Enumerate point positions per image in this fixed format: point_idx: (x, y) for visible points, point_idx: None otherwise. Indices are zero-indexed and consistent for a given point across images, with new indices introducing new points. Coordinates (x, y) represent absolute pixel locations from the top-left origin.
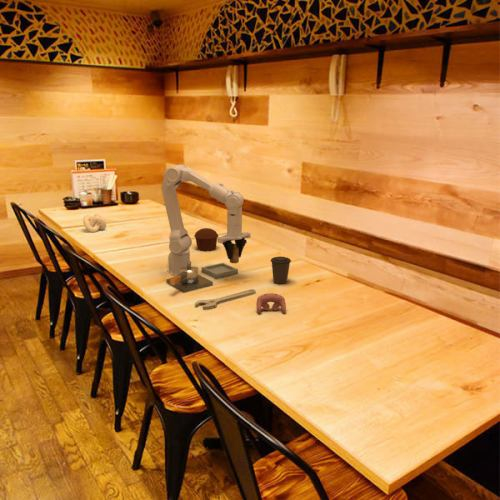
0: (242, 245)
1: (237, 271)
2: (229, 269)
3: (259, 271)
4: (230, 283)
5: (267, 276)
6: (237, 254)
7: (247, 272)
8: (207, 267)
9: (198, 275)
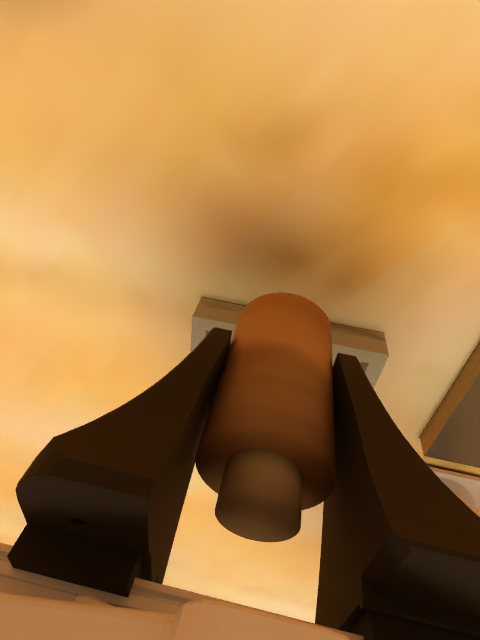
0: (160, 426)
1: (202, 307)
2: None
3: (49, 223)
4: (400, 203)
5: (51, 90)
6: (273, 356)
7: (133, 270)
8: None
9: (459, 421)
